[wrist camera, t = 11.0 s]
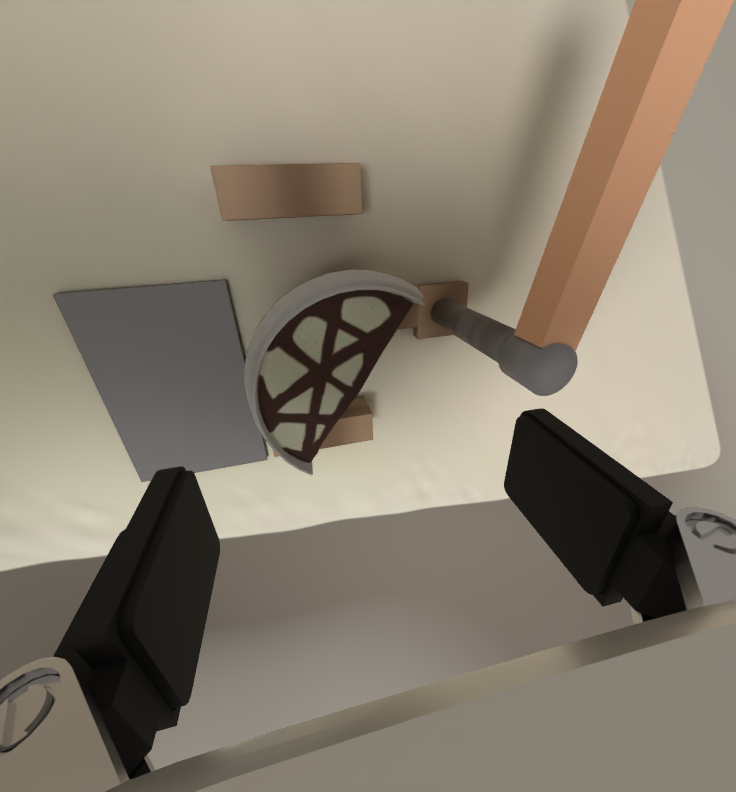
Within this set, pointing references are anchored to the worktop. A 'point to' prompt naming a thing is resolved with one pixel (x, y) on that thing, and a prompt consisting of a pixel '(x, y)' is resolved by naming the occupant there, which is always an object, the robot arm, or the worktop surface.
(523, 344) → the tall wooden post
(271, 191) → the wooden blocks
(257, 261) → the worktop surface
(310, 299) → the food container
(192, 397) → the mat
